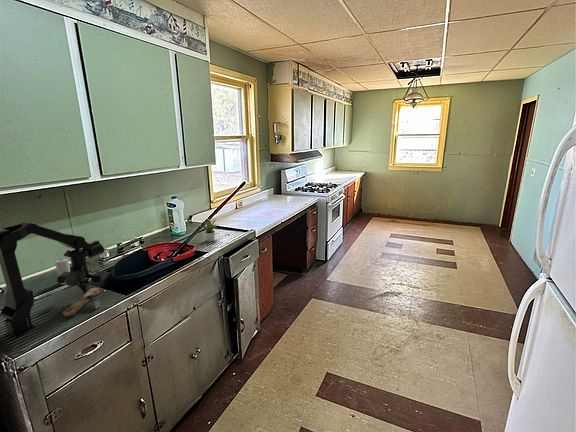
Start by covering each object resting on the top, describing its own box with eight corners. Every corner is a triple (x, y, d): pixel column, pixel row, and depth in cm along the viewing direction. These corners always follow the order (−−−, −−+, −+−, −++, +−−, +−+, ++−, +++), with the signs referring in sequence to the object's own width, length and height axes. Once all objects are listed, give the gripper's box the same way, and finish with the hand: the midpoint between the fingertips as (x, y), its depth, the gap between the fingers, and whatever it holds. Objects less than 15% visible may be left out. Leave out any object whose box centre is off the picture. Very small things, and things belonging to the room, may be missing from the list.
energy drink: (70, 278, 155) (66, 257, 152) (74, 281, 151) (69, 259, 148) (58, 282, 151) (53, 260, 148) (61, 285, 148) (56, 263, 144)
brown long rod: (71, 317, 121) (70, 310, 120) (61, 317, 121) (60, 311, 120) (100, 291, 140) (99, 286, 139) (91, 292, 140) (90, 286, 139)
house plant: (212, 234, 221) (210, 213, 217) (225, 238, 213) (224, 216, 209) (196, 240, 210) (194, 218, 205) (210, 244, 202) (208, 221, 198)
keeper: (95, 309, 127) (93, 301, 126) (87, 304, 131) (85, 297, 130) (101, 306, 129) (99, 298, 128) (92, 302, 133) (91, 294, 132)
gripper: (44, 271, 123) (52, 304, 128) (91, 270, 125) (97, 303, 129) (61, 259, 134) (68, 290, 138) (104, 258, 135) (110, 289, 140)
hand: (85, 293), depth 136 cm, fingers closed
